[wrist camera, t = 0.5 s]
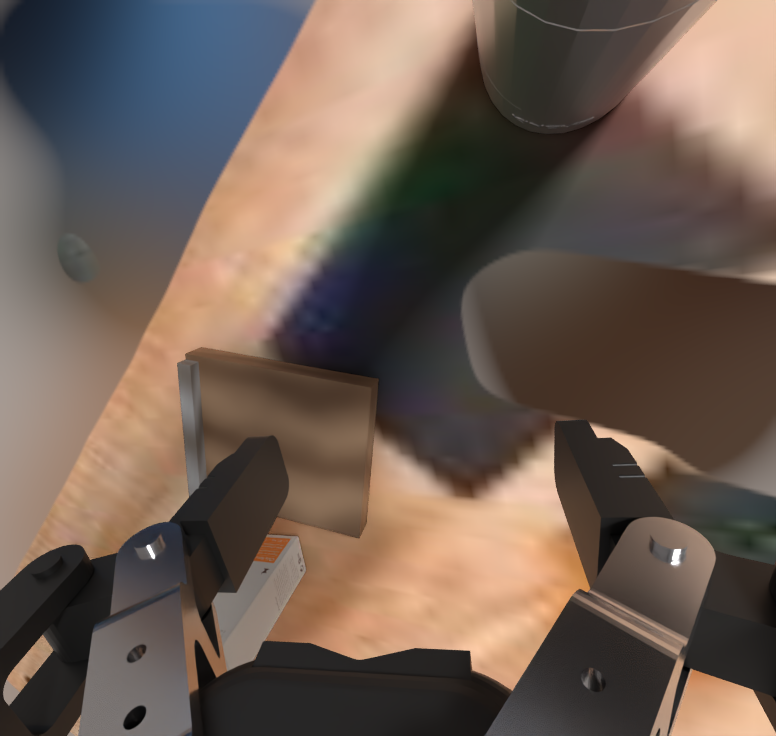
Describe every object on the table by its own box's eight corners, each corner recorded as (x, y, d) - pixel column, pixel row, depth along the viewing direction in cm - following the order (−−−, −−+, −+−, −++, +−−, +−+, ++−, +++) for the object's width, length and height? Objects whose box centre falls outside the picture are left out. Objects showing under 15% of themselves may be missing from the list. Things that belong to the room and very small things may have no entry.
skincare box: (299, 533, 40) (222, 649, 29) (307, 569, 41) (236, 694, 30) (244, 530, 42) (152, 638, 31) (254, 565, 43) (169, 681, 32)
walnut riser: (201, 347, 36) (176, 357, 33) (378, 378, 33) (367, 392, 30) (210, 483, 41) (189, 502, 38) (366, 523, 37) (355, 546, 35)
